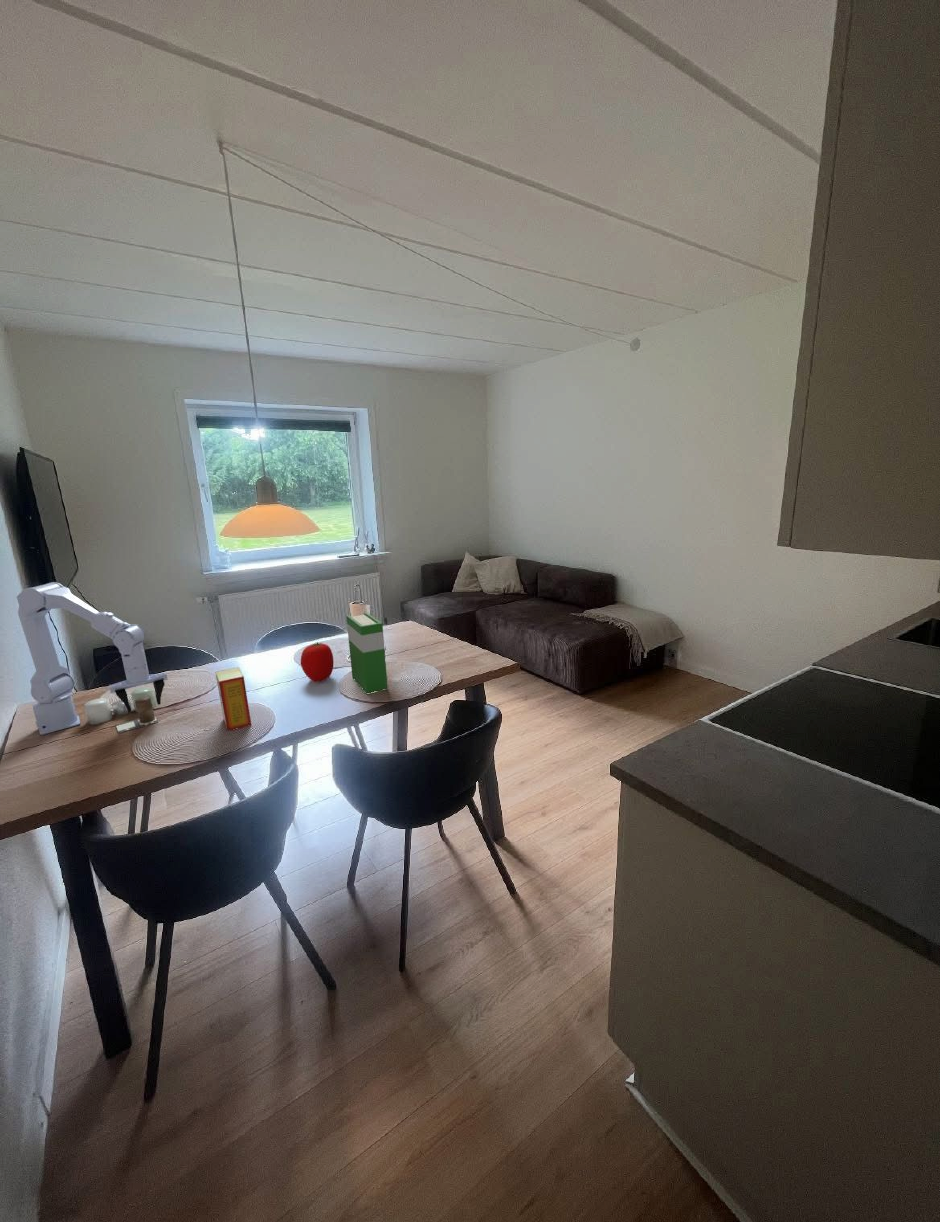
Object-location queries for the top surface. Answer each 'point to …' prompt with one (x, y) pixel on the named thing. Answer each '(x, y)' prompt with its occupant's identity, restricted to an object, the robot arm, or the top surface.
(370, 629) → the hardback book
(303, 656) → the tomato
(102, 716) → the mug white
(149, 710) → the walnut peg
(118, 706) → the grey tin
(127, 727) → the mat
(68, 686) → the robot arm
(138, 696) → the mug sage
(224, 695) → the baking soda box
